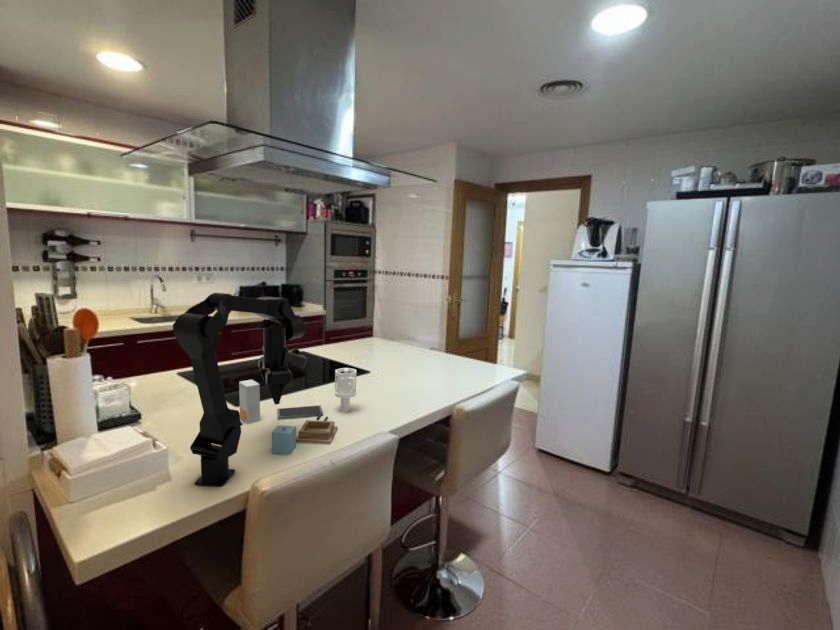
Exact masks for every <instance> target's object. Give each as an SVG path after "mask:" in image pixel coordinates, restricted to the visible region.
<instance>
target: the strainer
mask: <svg viewBox="0 0 840 630" xmlns="http://www.w3.org/2000/svg"><path fill="white" fill-rule="evenodd" d="M334 371H335V372H334V396H335V397H336V398H340V412H343V413H346V412H349V411H351V409H350V408H351V407H350V406H351V405H350V404H351V398H355V396H356V395H357V369H355V368H351V367H342V368H337V369H335V370H334ZM342 372H343V373H342Z"/></svg>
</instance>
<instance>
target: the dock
mask: <svg viewBox="0 0 840 630" xmlns="http://www.w3.org/2000/svg"><path fill="white" fill-rule="evenodd" d="M335 424H336V423H335V421H329V420H328V421H327V420H326V421H324V420H305V421H304V423H303V425H302V426H301V428H300V429H299V430H298V433H297V434H298V435H296V444H297V443H298V444H317V445H331V444H332V441H333V439H334V438H335V435H336V433H337V431H338V426H335Z"/></svg>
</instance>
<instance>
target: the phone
mask: <svg viewBox="0 0 840 630" xmlns="http://www.w3.org/2000/svg"><path fill="white" fill-rule="evenodd" d="M322 411H323V409H322V406H321V405H307V406H297V407H284V408H277V414H276V415H277V420H278V421H281V420H291V419H303V418H313V417H316V418H317V417H318V415H319V414H321V416H320V417H323V416H324V411H323V412H322Z"/></svg>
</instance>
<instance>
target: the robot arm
mask: <svg viewBox="0 0 840 630" xmlns="http://www.w3.org/2000/svg"><path fill="white" fill-rule="evenodd" d="M214 312H215V313H214ZM232 312H240V313H252V314H255V315H257V316H259V317H262V318H265V319H263V320H262V321H261V322H260V323H259V324H258V325H257V328H258V329H262V330H263V332H262V333H263V344H262V346H261V347H262V348H261V349H262V351H263V352H262V353H263V354H262V355H263V356H261V357H259V358H258V360H257V361H258V363H257V365H258V368H259V369H258V370H259V371H260V375H261V377H262V380H263V381H264V384H265V386H266V389H267V391H268V393H269V395H270V396H271V399H272V400H273V404H274V405H276V406H277V405H279V404H280V403H281V399H282V395H283V392H284V389H285V387H286V386H287V385H288V384H290V383H291V382H293V373H292V372H291V370H290V369H289V366H292V367H296V368H298V369H299V370H304V368H305V365H306V364H307V361H308V358H307V357H306V356H305V355H304V354H301V351H300V349H298V348H295V347H293V348H292V349H291V350H289V349H288V347H286V342H287V341H291V340H295V339H299V338H301V337H303V336H304V335H305V334H306V330H307V328H306V327H307V326H306V324H305V322H304V321H303V320H301V315H299V314H295V312H294V310H293V308H292V306H291V304H290V302H289V299H287V298H285V297H275V296H274V297H273V296H259V297H256V298H253V297H247V296H241V295H240V296H239V295H233V294H231V293H227V292H226V293H223V292H213V293H211V294H209V295H208V296H207V297H206V298H205V299H203V300H202V301H200V302H198V303H197V304H195V305H193V306H191V307H189V308H188V309H187V310H186V311H185V312H184V313H182V314H180V315H179V316H177V318H176V319H175V321H174V323H172V332H173V334H174V336H175V339H176V341H177V343H178V345H179V346H180V348H182V350H183V351H184V352H186V354H187V355H188V356H189V359H190V362H191V367H192V370H193V374H194V378H195V384H196V387H197V390H198V395H199V399H200V403H201V407H202V411H203V414H202V416H201V419H200V420H199V423H198V424H199V432H198V434H197V436H196V437H195V438H194V440H193V442H192V443H191V444H190V447H189V449H190V451H191V453H192V454H193V455H198V456H200V474H201V475H200V476H199V477H198V478H197V480H196V481H194V485H195V486H213V487H214V486H217V487H222V486H225V484H227V482H228V480H230V478H231V477H232V476H233V475H234V474H235V472H236V469H234V468H230V464H229V463H230V460H229V458H230V457H231V456H233V455H234V454H236V453H237V452H238V447H239V444H240V439H241V434H242V427H243V423H242V421H241V418H240V410H237V409H233V408H229V407H228V403H227V399H226V394H225V390H224V385H223V381H222V377H221V372H220V366H219V363H218V359H217V354H216V350H217V348H218V346H219V344H220V341H221V337H220V334H221V333H220V332H221V331H222V329H223V328H224V327H226V326H227V323H228V320H229V315H230V313H232ZM213 313H214V314H213ZM211 314H213V315H212V316H211ZM241 426H242V427H241Z"/></svg>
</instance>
